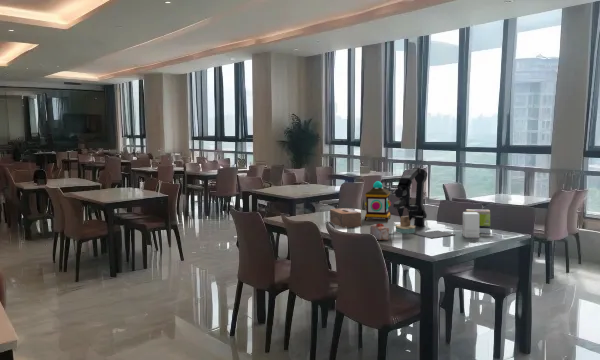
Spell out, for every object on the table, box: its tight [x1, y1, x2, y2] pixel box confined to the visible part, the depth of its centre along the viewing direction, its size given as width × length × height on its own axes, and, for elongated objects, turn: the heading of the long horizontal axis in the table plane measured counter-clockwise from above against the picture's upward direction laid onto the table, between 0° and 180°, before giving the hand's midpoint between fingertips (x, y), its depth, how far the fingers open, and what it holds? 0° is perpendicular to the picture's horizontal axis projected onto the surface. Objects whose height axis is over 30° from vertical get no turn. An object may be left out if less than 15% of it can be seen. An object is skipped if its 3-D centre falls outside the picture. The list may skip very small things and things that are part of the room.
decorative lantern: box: [364, 180, 392, 223], centre depth 370 cm, size 20×20×30 cm
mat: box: [413, 230, 456, 239], centre depth 311 cm, size 20×16×1 cm
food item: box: [369, 223, 390, 241], centre depth 300 cm, size 14×8×10 cm, turn 23°
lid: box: [395, 215, 416, 229], centre depth 322 cm, size 13×13×7 cm
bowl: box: [395, 227, 416, 234], centre depth 323 cm, size 12×12×3 cm
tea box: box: [465, 208, 491, 235], centre depth 317 cm, size 15×10×15 cm
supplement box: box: [462, 211, 480, 239], centre depth 304 cm, size 9×9×15 cm
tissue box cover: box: [329, 207, 362, 228], centre depth 355 cm, size 26×14×10 cm, turn 16°
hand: (405, 219), depth 322 cm, fingers open, 9 cm apart
